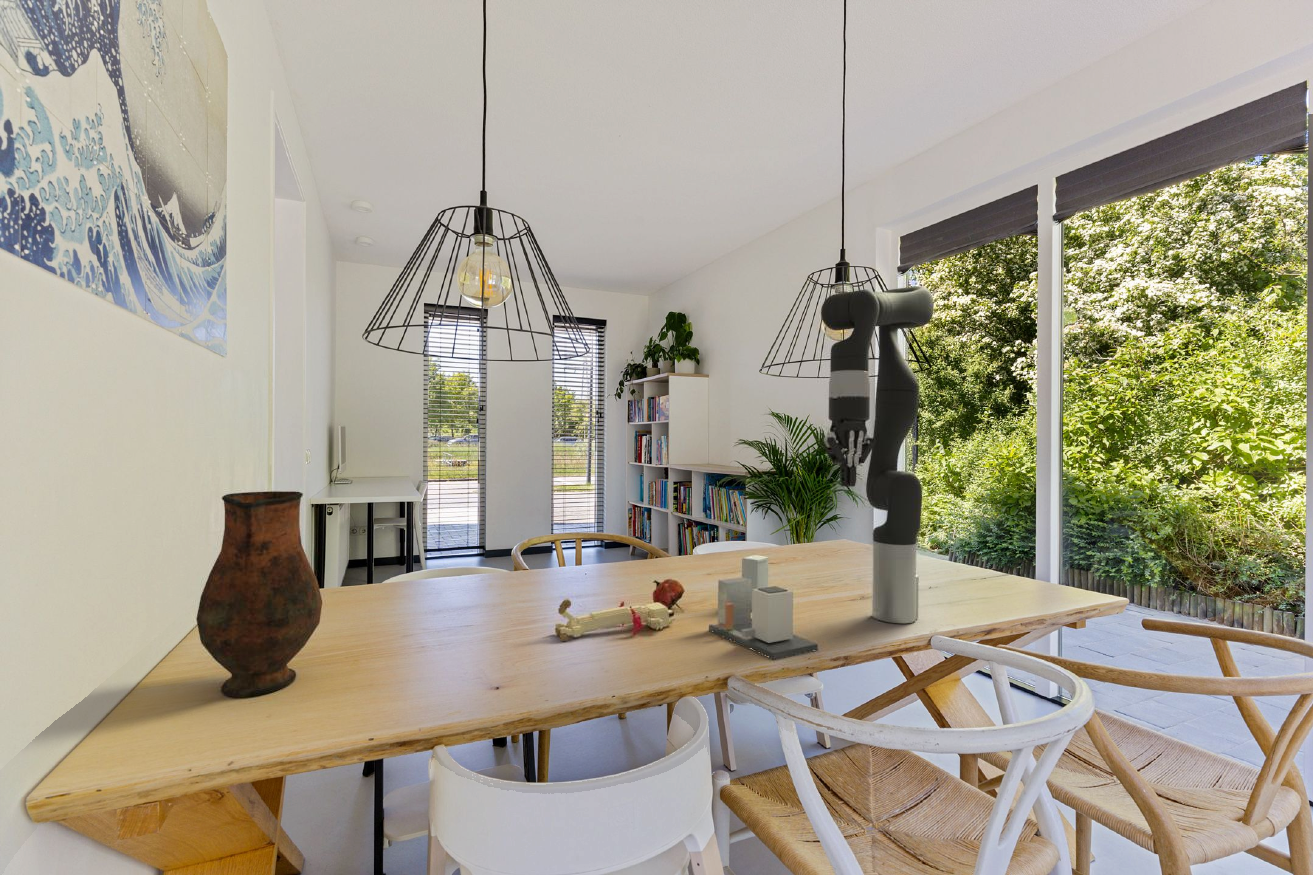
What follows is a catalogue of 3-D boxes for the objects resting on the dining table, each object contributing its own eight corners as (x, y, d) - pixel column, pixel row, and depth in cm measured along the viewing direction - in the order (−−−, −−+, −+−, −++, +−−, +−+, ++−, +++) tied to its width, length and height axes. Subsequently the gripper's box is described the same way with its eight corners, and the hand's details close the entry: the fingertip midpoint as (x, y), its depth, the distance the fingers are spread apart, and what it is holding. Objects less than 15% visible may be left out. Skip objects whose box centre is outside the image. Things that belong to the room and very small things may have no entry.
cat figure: (566, 653, 119) (684, 628, 129) (563, 607, 119) (681, 586, 129) (553, 638, 128) (664, 616, 138) (550, 595, 128) (661, 576, 138)
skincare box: (756, 611, 145) (757, 560, 145) (740, 608, 148) (741, 557, 148) (768, 606, 150) (769, 556, 150) (753, 603, 153) (753, 554, 153)
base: (750, 623, 136) (750, 576, 136) (817, 650, 118) (818, 596, 118) (708, 630, 130) (709, 581, 130) (773, 659, 113) (773, 602, 113)
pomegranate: (686, 617, 148) (660, 586, 153) (700, 596, 145) (672, 565, 150) (666, 626, 143) (639, 594, 148) (679, 605, 139) (651, 573, 144)
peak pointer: (730, 627, 127) (731, 602, 127) (733, 628, 126) (733, 603, 126) (725, 628, 126) (725, 603, 126) (727, 629, 125) (727, 604, 125)
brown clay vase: (171, 711, 88) (176, 498, 88) (232, 660, 109) (236, 487, 109) (302, 700, 92) (306, 497, 92) (337, 653, 113) (340, 487, 113)
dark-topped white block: (775, 631, 125) (775, 584, 125) (792, 638, 121) (793, 590, 121) (741, 637, 121) (742, 589, 121) (758, 644, 116) (758, 594, 116)
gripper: (857, 398, 127) (856, 484, 126) (809, 395, 120) (808, 486, 120) (888, 396, 120) (887, 487, 120) (839, 392, 113) (838, 488, 113)
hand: (848, 486), depth 120 cm, fingers closed
